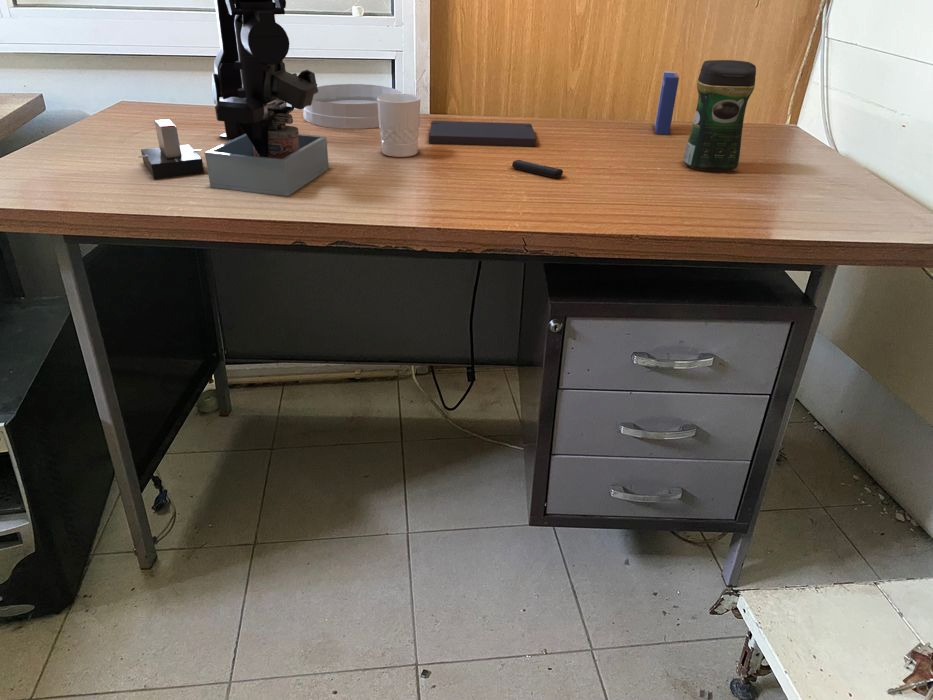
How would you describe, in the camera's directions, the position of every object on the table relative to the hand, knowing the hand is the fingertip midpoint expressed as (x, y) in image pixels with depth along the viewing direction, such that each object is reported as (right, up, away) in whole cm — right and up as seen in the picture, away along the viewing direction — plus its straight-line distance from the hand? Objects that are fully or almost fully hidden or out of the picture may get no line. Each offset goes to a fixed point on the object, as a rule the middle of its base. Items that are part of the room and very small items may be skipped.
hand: (269, 155), depth 115 cm
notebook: (+36, +12, +29) cm, 48 cm away
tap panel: (-18, -1, +5) cm, 18 cm away
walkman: (+76, +16, +39) cm, 86 cm away
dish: (+7, +20, +41) cm, 46 cm away
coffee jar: (+78, +2, +15) cm, 79 cm away
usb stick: (+45, -1, +9) cm, 46 cm away
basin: (0, -3, +2) cm, 4 cm away
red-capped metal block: (-18, +1, +3) cm, 18 cm away
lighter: (+1, -2, +2) cm, 3 cm away
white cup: (+20, +5, +17) cm, 27 cm away
